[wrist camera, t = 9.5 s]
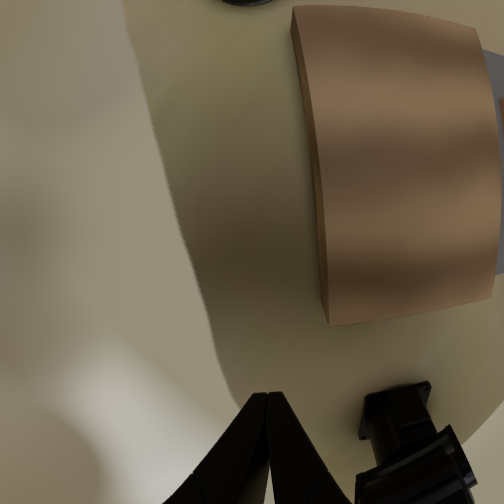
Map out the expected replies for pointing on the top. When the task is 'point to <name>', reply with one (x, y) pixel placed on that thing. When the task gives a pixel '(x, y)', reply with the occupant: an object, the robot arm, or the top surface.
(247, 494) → the robot arm
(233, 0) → the dark grey chess piece
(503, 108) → the tile
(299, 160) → the top surface
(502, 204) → the mat
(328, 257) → the board
